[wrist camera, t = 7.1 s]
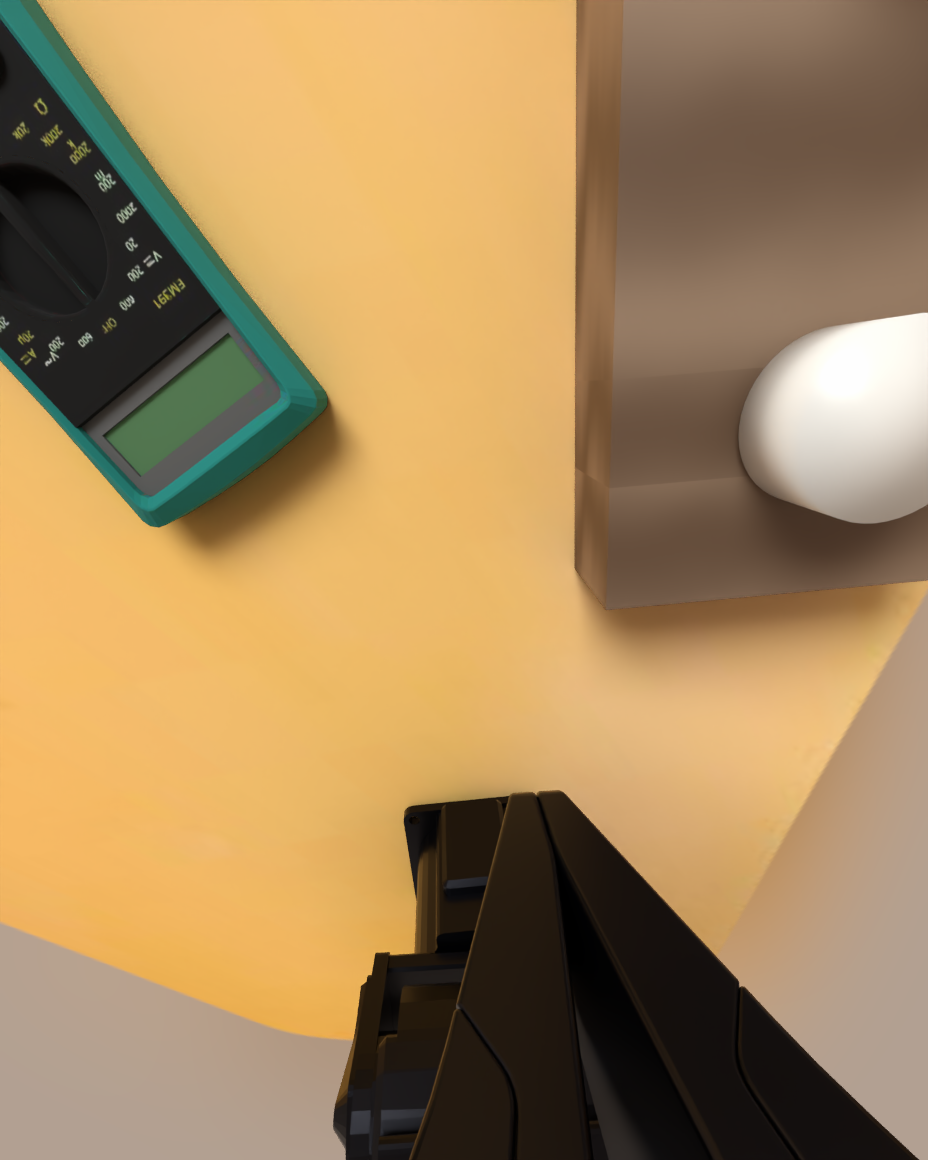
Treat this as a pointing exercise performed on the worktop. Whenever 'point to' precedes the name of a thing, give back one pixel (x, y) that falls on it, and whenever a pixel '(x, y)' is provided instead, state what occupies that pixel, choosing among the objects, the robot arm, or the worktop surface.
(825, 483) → the knob
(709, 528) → the brown wooden board
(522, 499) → the worktop surface
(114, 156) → the digital multimeter
